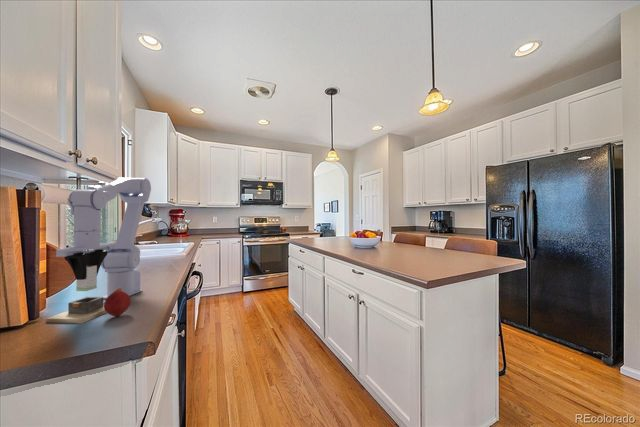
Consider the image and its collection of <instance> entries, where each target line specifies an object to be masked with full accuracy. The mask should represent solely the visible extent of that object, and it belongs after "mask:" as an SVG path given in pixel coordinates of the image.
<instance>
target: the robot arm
mask: <svg viewBox="0 0 640 427" xmlns="http://www.w3.org/2000/svg"><path fill="white" fill-rule="evenodd" d="M151 191H152V185H151V182H150V180H149V179H148V178H146V177H122V176H120V177H115V180H114V181H112V182H110V183H109V182H106V181H98V182H97V184H95V185H89V186H88V187H86V188H85V189H75V190H73V191H72V192H70V194H69V195H68V198H67V203H68V206H69V207H70V213H71V215H72V216H73V236H72V237H73V240H72V242H73V245H72V246H70V247H63V248H57V249H55V250H56V251H55V254H56V255H55V256H56V258H58V257H59V258H62V257H63V258H64V260H65V261H66V262H67V263H68V265H69V266H70V268H71V270H72V272H73V274H74V277H75V280H76V281H77V280H84V279H85V277H86V268H87V265H97V275H98V274H99V271H100V268H102V269H103V270H104V272H105V273H107V275H106V276H107V277H106V279H107V282H106V283H107V284H106V286H107V287H106V289H107V290H106V294H105V295H102V296H101V297H103V300H106V299H107V298H108V296H109V295H111V294H112V293H113V292H114V291H115V290H116V289H117V288H121V291H123V292H125V293H127V294H128V295H129V297H130V296H133V295H135V294H138V293H140V292H143V289H141V272H140V270H139V269H138V268H137V267H138V266H139V264H140V262H141V261H140V260H141V249H140V248H139V247H138V246H137V245H136V244H135V239H136V235H137V232H138V228H139V224H140V221H141V217H142V213H143V210H144V205H145V203H146V202H148V201H149V198H150V195H151V193H152V192H151ZM118 195H119V197H120V199H121V201H122V202H124V203H126V204H127V206H126V208H125V211H124V215H123V218H122V222H121V224H120V229H119V231H118V235H117V238H116V241H115V242H114V243H111V242H110V243H109V242H107V243H101V234H102V233H101V226H102V225H101V223H102V221H101V219H102V218H101V217H102V214H101V213H102V211H101V210H103V209H104V208H105V207H106V205H107V203H108V202H110V201H112V200H114V199H116V198H117V196H118Z"/></svg>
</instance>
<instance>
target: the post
mask: <svg viewBox="0 0 640 427" xmlns="http://www.w3.org/2000/svg"><path fill="white" fill-rule="evenodd" d="M97 276H98V274H97V265H87V268H86V277H85V279H84V280H76V286H75V287H76V289H75V290H76V292H88V291H91V290H95V289H97V288H98V287H97V286H98V284H97V283H98V282H97V281H98V279H97V278H98V277H97Z"/></svg>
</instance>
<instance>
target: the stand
mask: <svg viewBox="0 0 640 427" xmlns="http://www.w3.org/2000/svg"><path fill="white" fill-rule="evenodd" d="M104 303H105V302H104V299H103V297H102V296H85V297H82V298H80V299H76V300H73V301H70V302H68V304H67V305H68V310H65V311H63V312H61V313H57V314H54V315H52V316H49V317H47V318H46V319H45V322H46V323H52V324H53V323H60V324H63V323H64V324H83V323H85V322H88V321H90V320H93V319H95V318H97V317H100V316H102V315H104V314H108V313H107V312H106V311H105V309H104Z"/></svg>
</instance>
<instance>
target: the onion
mask: <svg viewBox="0 0 640 427" xmlns="http://www.w3.org/2000/svg"><path fill="white" fill-rule="evenodd" d="M104 300H105V301H104V302H103V303H104V309H105V311H106V312H107V313H106V314H109V316H113V317H120V316H121V315H123V313H125V312H126V311H127V310H129V307H130V306H131V301H132V300H131V297H130V296H129V295H128V294H127V293H125V292H123V291H121V288H117V289H116V290H115V291H114V292H113V293H112V294H111V295H109V296H108V298H107V299H104Z"/></svg>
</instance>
